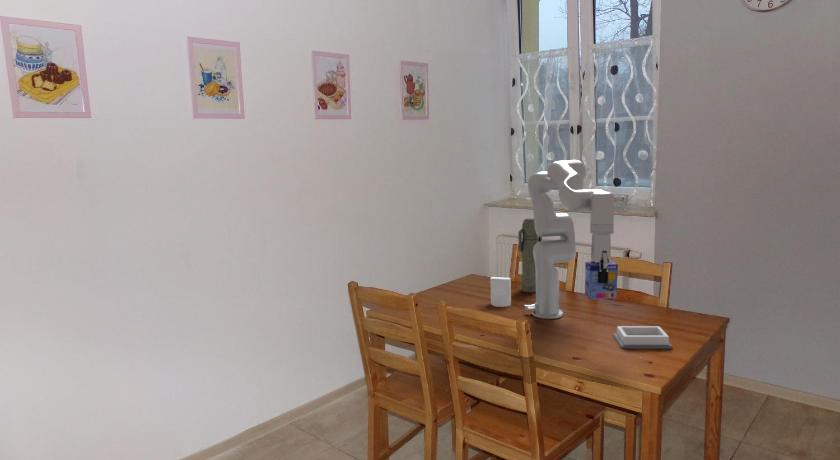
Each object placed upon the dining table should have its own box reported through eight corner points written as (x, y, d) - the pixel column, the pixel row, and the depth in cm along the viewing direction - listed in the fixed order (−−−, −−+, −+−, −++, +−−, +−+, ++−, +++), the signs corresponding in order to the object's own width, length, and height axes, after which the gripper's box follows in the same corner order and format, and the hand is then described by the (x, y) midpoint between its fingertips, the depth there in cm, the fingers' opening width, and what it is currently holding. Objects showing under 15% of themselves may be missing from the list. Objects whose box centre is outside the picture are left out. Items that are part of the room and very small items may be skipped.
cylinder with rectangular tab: (488, 306, 255) (488, 280, 253) (493, 300, 263) (493, 275, 261) (508, 307, 252) (508, 281, 250) (513, 301, 260) (512, 276, 258)
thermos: (546, 290, 277) (545, 219, 271) (526, 293, 272) (525, 221, 266) (535, 286, 285) (534, 217, 279) (515, 289, 280) (514, 219, 274)
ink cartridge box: (589, 300, 193) (590, 258, 190) (583, 295, 198) (584, 255, 196) (617, 298, 194) (618, 257, 191) (611, 294, 199) (612, 253, 197)
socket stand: (621, 348, 199) (621, 337, 199) (613, 335, 212) (613, 325, 211) (672, 348, 197) (672, 337, 197) (661, 335, 210) (661, 325, 209)
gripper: (586, 224, 201) (585, 274, 204) (595, 233, 184) (594, 287, 187) (608, 224, 200) (607, 274, 203) (619, 232, 183) (618, 287, 186)
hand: (600, 279), depth 195 cm, fingers closed on ink cartridge box, 5 cm apart
